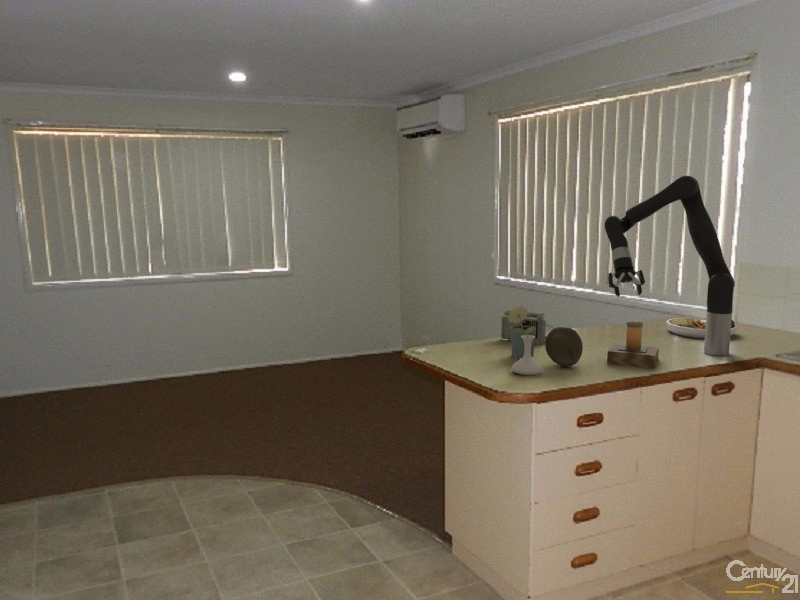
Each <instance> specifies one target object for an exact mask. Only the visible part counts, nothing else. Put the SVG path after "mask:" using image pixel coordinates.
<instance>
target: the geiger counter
mask: <svg viewBox="0 0 800 600" xmlns="http://www.w3.org/2000/svg"><path fill="white" fill-rule="evenodd" d="M511 311H512V310H509V309H508V310H506V311H505V312H504V313H503V314H504V315H502V316H501V327H500V328H501V333H500V335H501V336H500V338H503V339H508V340H511V327H512V326H521V322H522V326H532V327H533V326H534V327H535V328H536V333H535V340H534V344H535V343H540V344H539V345H545V340H546V337H547V336H546V333H547V330H546V329H547V327H550V328H552V330H553V329H555V327H553V326H552V325H549V324H547V319H546V318H545V312H541V311H537V312H531V311H527V312H528V313H527V316H526V318H525V319H524V320H523V321H521V322H518V323H513V322H512V323H511V322H509V319H508V316H509V314H510V312H511ZM503 339H500V340H501V341H504V340H503Z"/></svg>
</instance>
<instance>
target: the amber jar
mask: <svg viewBox="0 0 800 600" xmlns="http://www.w3.org/2000/svg"><path fill="white" fill-rule="evenodd" d="M643 326H644V323H643V322H641V321H637V320H635V321H631V320H630V321H626V336H625V337H626V338H625V344H626V348H628V349H634V350H638V349H641V345H642V335H643Z"/></svg>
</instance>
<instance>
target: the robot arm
mask: <svg viewBox="0 0 800 600" xmlns="http://www.w3.org/2000/svg"><path fill="white" fill-rule="evenodd" d="M677 201H680V202H681V204H682V206H683V209H684V210H685V215H686V221H687V222H686V223H687V228H688V232H689V235H690V237H691V241H692V244H693V245H694V248H695V250H696V253H698V255H699V257H700V258H701V260H702V261H703V262H702V263H704V265H705V268H706V273H707V276H708V283H707V294H706V295H707V297H706V318H705V319H706V330H705V339H704V342H703V343H704V347H703V353H704V354H706V355H710V356H715V357H716V356H719V357H721V356H722V357H723V356H724V357H725V356H727V357H729V356H730V346H731V337H732V336H731V320H733V309H734V308H733V306H734V305H733V300H734V288H735V285H736V284H735V283H736V282H735V279H734V277H733V275H732V274H731V271H730V269H729V267H728V266H727V263H726V261H725V259H724V255H723V252H722V251H723V250H722V247H721V244H720V239H719V237H718V234H717V232H716V229H715V226H714V224H713V221H712V218H711V217H710V214H709V212H708V210H707V209H706V207H705V204H704V201H703V198H702V194H701V189H700V184H699V182H698V180H697V179H696V178H695V177H694V176H691V175H681V176H678V178H675V180H674V181H672V182H671V183H670V184H669V185H668V186H666V187H665V188H663V189H661V190H660V191H658V193H655V194H653V195H652V196H650V197H648V198H646V199H644V200H643V201H641V202H638V203H637V204H635V205H633V206H631V207H630V208H628V209H627V210H626V211H625V212H624V213H625V214H624V216H623V217H619V216H617V215H615V214H614V215H610V216H608V217H607V218H606V219H605V220H604V230H605V233H606V235H607V236H606V237H607V238H608V241H609V243H610V250H611V258H612V264H613V268H614V273H612V272H609V273H608V274H607V281H608V287H609V288H610V289H611V288H612V289H613V290H614V295H615V296H616V297H617V298H619V297H620V296H621V292H620V287H619V284H620V283H621V284H625V283H632V284H633V285H635V286H636V292H637V295H638V296H640V295H642V293H643V289H642V286H644V285H645V283H646V280H645V276H644V272H643V270H642V269H639V270H638V271H635V269H634V264H633V259H632V254H631V251H630V246H629V242H628V238H627V237H626V236H625V235H624V234H625V233H627V232H628V231H629V230H631V228H633V227H634V226H635V225H636V224H637V223H640V222H642V221H644V220H645V219H647V218H649V217H650V216H653V214H655V213H657V212H659V210H661V209H663V208H664V207H666V206H668V205H670V204H672V203H675V202H677ZM635 275H636V276H637V277H638V278H637V277H636V276H635ZM614 277H615V278H616V279H617V281H616V282H615V283H614V281H613V280H614Z"/></svg>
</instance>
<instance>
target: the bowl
mask: <svg viewBox="0 0 800 600" xmlns="http://www.w3.org/2000/svg"><path fill="white" fill-rule="evenodd" d="M666 327H667V328H668V330H669V331H670V332H671V333H673V334H675V335H677V336H678V335H679V336H682V337H688V338H693V339H704V340H705V330H706V318H699V317H698V318H697V317H696V318H695V317H677V318H671V319H668V320H667V321H666ZM737 328H738V327H737V325H736V323H735V321H734V320H733V319H732V320H731V336H730V337H732V336H733V335H734V334H735V333H736V332H737Z"/></svg>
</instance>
